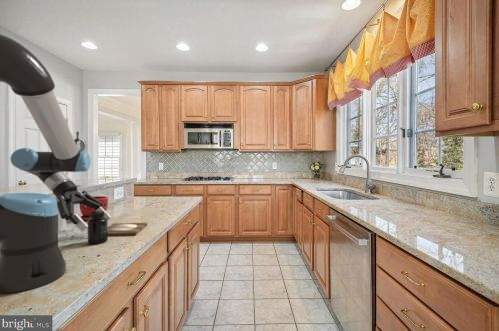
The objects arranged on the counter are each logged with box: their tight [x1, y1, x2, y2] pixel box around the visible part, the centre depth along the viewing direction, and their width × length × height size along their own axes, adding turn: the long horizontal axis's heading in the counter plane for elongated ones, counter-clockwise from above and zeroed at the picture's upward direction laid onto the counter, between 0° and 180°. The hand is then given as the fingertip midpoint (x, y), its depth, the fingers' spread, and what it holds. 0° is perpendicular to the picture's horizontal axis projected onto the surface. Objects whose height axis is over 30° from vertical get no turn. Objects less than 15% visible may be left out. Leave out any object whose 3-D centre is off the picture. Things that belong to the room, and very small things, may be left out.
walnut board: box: [108, 222, 148, 237], centre depth 110 cm, size 16×16×2 cm
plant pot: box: [79, 195, 109, 222], centre depth 131 cm, size 13×13×12 cm
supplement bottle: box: [86, 211, 109, 246], centre depth 95 cm, size 7×7×12 cm
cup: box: [57, 206, 67, 232], centre depth 111 cm, size 8×8×12 cm
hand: (97, 224), depth 96 cm, fingers open, 13 cm apart
